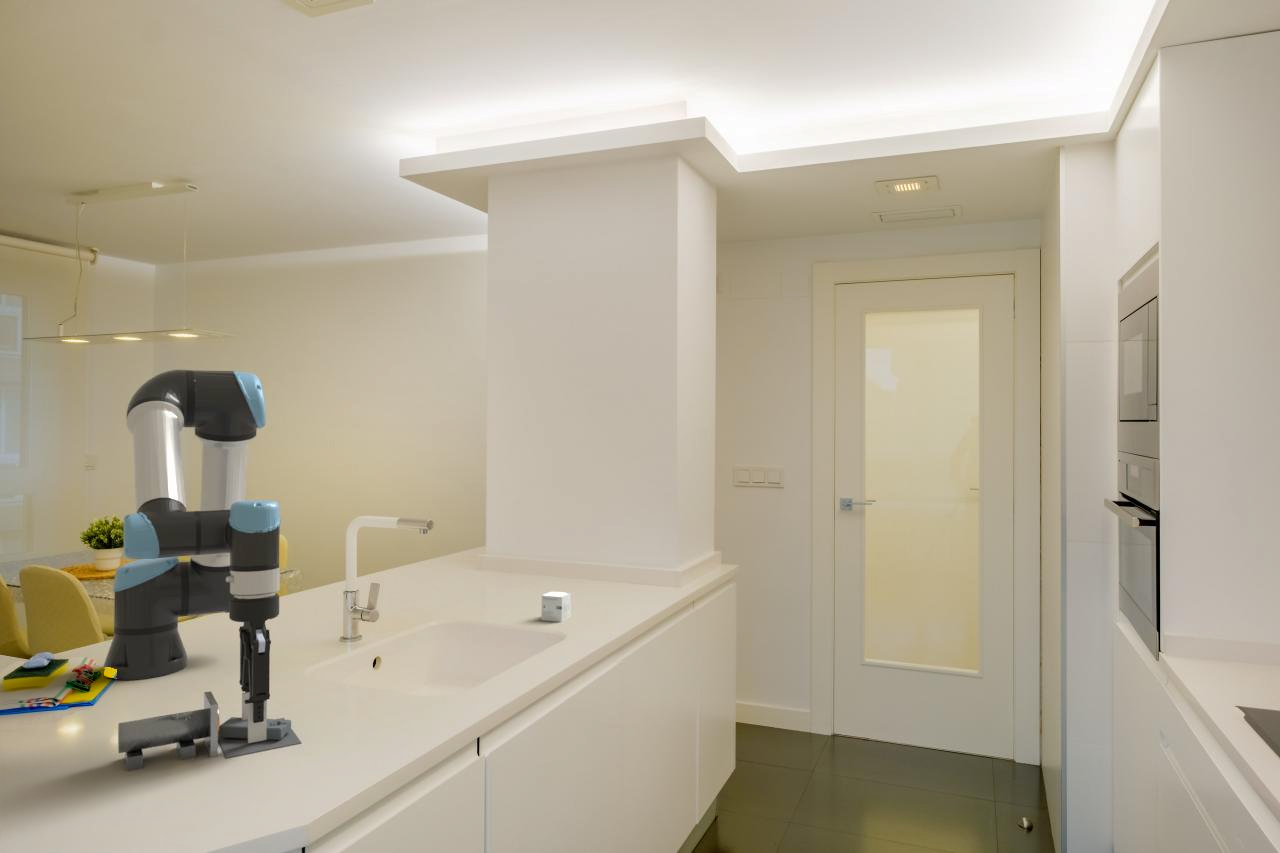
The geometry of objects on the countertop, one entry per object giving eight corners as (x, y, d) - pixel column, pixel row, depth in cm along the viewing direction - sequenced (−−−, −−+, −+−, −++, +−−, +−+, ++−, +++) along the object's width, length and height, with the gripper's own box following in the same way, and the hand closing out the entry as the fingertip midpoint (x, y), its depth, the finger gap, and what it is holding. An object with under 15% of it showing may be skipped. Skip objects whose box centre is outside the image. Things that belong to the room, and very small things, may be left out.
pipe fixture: (117, 757, 129) (117, 705, 129) (213, 739, 137) (213, 690, 137) (119, 775, 123) (119, 720, 123) (220, 755, 130) (220, 704, 130)
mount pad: (214, 731, 141) (214, 730, 141) (283, 718, 147) (283, 717, 147) (226, 758, 129) (226, 757, 129) (301, 743, 135) (301, 742, 135)
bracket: (231, 728, 140) (231, 716, 140) (291, 730, 139) (291, 719, 139) (218, 738, 136) (218, 725, 136) (280, 740, 136) (280, 728, 135)
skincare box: (540, 622, 221) (541, 594, 221) (550, 617, 226) (550, 590, 226) (561, 624, 219) (562, 596, 219) (571, 619, 224) (571, 592, 224)
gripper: (221, 588, 143) (220, 725, 143) (238, 605, 128) (237, 757, 128) (268, 584, 147) (268, 716, 147) (290, 600, 132) (289, 747, 132)
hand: (254, 735), depth 137 cm, fingers open, 5 cm apart
